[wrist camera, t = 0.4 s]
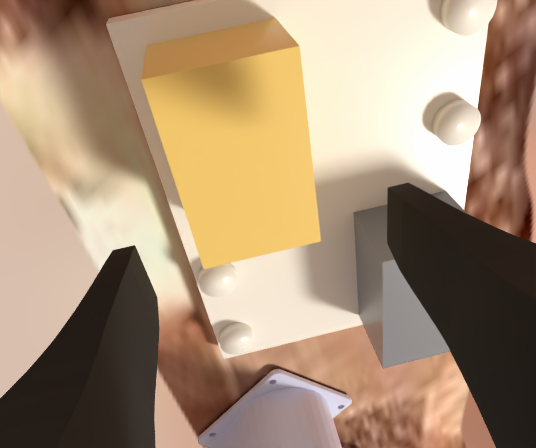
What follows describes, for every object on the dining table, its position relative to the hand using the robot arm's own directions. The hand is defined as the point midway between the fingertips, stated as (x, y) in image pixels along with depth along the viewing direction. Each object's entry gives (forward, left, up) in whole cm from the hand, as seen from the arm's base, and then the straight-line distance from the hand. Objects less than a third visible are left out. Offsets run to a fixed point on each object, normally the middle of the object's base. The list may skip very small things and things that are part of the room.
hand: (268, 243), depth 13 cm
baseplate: (-1, -6, -9) cm, 11 cm away
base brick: (-1, -13, -8) cm, 15 cm away
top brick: (0, 0, -8) cm, 8 cm away
